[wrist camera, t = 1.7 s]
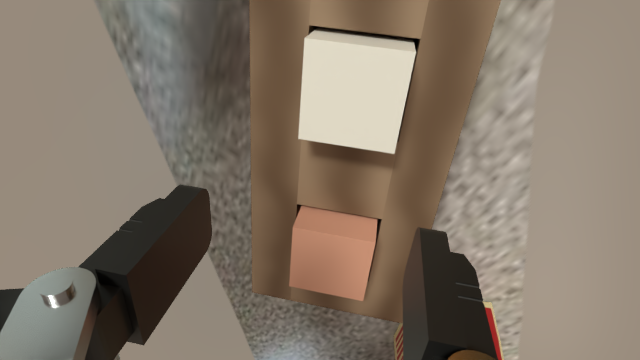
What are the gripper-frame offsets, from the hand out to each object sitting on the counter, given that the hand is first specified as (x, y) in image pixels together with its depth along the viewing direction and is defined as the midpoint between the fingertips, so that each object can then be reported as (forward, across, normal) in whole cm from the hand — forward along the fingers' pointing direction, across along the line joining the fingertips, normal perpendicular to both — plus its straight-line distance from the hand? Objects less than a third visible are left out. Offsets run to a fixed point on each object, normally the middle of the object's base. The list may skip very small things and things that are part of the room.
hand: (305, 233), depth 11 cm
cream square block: (+17, 0, 0) cm, 17 cm away
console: (+22, 0, +6) cm, 23 cm away
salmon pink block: (+17, 0, +13) cm, 21 cm away
